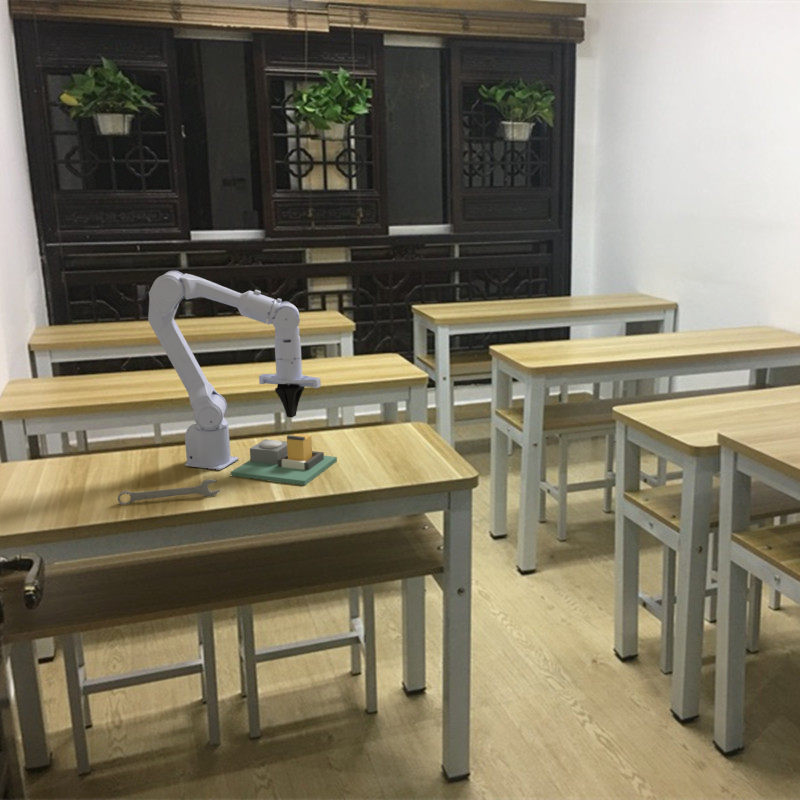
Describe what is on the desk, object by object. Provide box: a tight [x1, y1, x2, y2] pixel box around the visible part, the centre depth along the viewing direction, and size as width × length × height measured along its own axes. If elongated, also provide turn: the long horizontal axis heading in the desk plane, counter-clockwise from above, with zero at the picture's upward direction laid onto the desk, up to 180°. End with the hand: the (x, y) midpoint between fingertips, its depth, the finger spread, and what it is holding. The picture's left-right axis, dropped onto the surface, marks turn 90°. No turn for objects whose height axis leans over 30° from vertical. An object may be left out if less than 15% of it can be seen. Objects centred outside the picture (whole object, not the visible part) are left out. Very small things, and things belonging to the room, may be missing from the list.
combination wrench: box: [117, 478, 221, 506], centre depth 160 cm, size 4×1×20 cm
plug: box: [286, 433, 313, 461], centre depth 176 cm, size 4×4×7 cm
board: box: [230, 439, 338, 486], centre depth 177 cm, size 18×16×4 cm
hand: (291, 416), depth 180 cm, fingers closed
